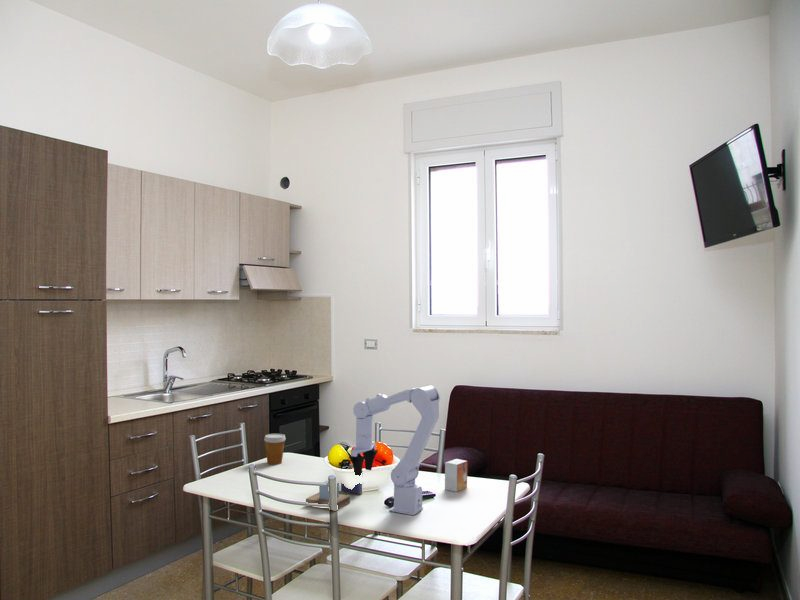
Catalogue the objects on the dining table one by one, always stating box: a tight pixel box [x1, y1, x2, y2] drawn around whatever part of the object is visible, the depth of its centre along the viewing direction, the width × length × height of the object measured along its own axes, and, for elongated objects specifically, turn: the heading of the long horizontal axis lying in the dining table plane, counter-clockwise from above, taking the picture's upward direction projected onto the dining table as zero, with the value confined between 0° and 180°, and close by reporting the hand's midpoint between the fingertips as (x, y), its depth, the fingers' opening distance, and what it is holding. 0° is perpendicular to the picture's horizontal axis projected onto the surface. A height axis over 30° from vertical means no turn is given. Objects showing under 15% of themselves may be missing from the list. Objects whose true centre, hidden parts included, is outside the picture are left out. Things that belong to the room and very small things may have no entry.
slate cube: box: [318, 480, 340, 500], centre depth 217 cm, size 5×5×5 cm
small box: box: [444, 458, 468, 492], centre depth 239 cm, size 8×6×10 cm
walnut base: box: [305, 492, 351, 511], centre depth 217 cm, size 12×10×2 cm
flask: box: [340, 463, 363, 496], centre depth 232 cm, size 9×3×11 cm, turn 59°
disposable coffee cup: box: [263, 433, 287, 466], centre depth 272 cm, size 10×10×12 cm
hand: (363, 472), depth 221 cm, fingers open, 7 cm apart
